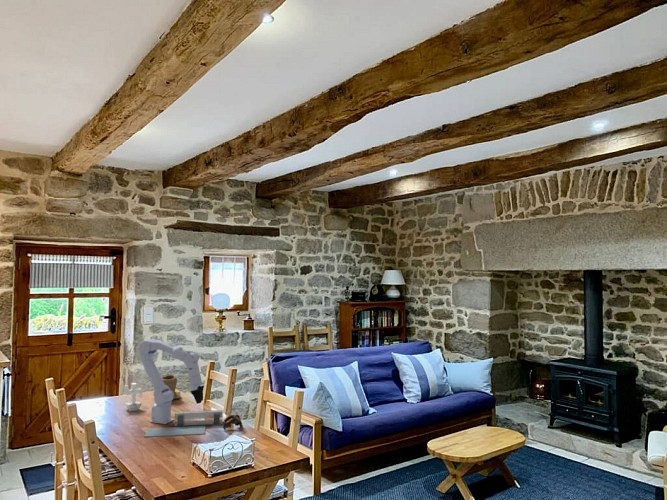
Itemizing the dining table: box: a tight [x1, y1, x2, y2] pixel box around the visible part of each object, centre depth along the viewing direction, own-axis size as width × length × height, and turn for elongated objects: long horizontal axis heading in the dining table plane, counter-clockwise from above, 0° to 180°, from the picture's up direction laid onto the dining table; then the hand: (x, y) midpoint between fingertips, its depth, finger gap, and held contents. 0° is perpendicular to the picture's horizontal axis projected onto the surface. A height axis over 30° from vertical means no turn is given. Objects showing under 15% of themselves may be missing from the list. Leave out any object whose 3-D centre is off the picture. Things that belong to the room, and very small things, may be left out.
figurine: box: [124, 382, 143, 412], centre depth 283 cm, size 7×9×15 cm
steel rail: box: [174, 409, 224, 421], centre depth 259 cm, size 24×3×3 cm, turn 103°
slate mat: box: [143, 426, 207, 438], centre depth 246 cm, size 28×12×1 cm, turn 103°
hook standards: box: [173, 414, 223, 427], centre depth 258 cm, size 24×7×6 cm, turn 103°
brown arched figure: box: [222, 414, 244, 432], centre depth 253 cm, size 12×10×8 cm
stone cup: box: [161, 374, 181, 400], centre depth 306 cm, size 15×12×15 cm
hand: (200, 401), depth 258 cm, fingers open, 7 cm apart
